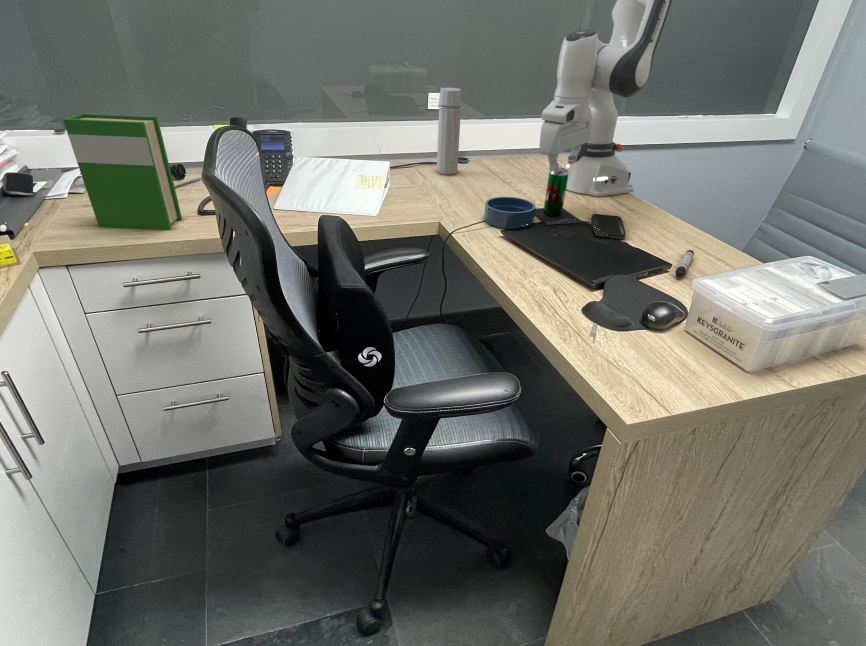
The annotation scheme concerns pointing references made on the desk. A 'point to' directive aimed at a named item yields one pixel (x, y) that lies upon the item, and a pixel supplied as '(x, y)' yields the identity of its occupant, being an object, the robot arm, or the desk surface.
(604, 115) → the robot arm
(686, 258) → the marker
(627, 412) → the desk surface
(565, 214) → the black flat square pad
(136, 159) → the hardback book
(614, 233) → the phone
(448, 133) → the water bottle
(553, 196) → the soda can
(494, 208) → the dish
